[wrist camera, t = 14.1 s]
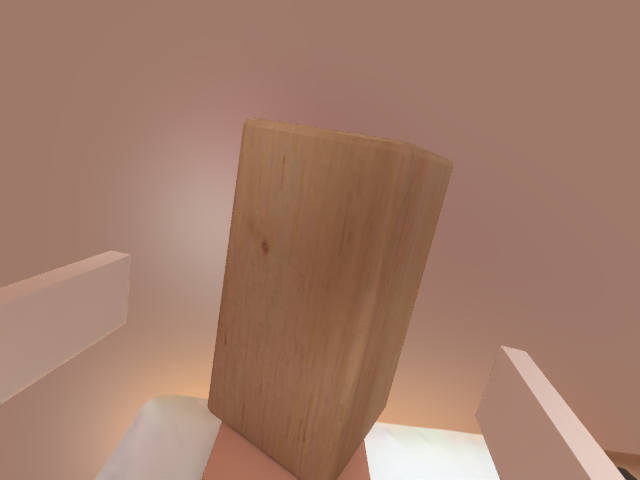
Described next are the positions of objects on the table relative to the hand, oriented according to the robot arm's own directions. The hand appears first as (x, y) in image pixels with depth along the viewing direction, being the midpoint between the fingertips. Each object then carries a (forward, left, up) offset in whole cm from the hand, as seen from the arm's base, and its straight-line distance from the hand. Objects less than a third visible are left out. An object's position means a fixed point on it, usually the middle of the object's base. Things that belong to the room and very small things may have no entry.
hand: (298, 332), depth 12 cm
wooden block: (-2, -11, -13) cm, 17 cm away
